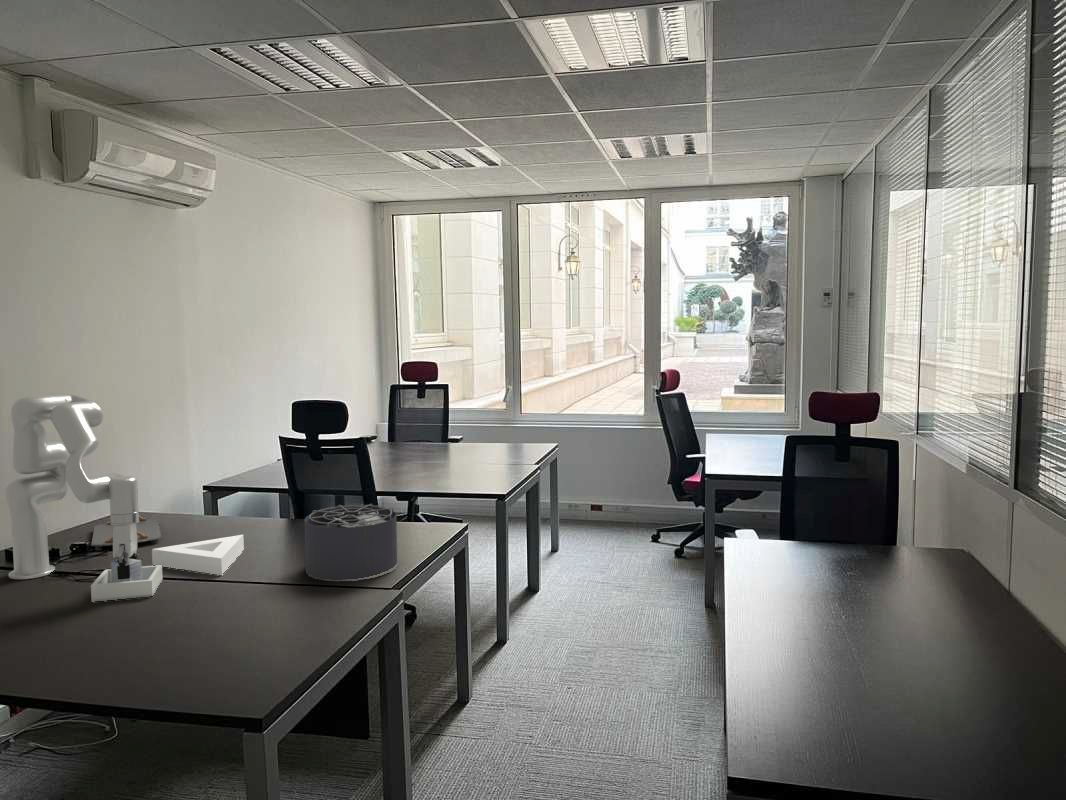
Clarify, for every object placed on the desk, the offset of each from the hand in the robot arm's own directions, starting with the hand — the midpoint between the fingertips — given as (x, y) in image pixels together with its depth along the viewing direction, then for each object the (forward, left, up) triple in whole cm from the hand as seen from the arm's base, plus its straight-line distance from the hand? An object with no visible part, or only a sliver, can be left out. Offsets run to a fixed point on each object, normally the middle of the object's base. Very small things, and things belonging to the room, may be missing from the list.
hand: (127, 573), depth 230 cm
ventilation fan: (-4, +66, -6) cm, 66 cm away
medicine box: (0, 0, -5) cm, 5 cm away
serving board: (-70, -15, -6) cm, 72 cm away
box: (0, 0, -5) cm, 5 cm away
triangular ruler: (-27, +22, -6) cm, 35 cm away
